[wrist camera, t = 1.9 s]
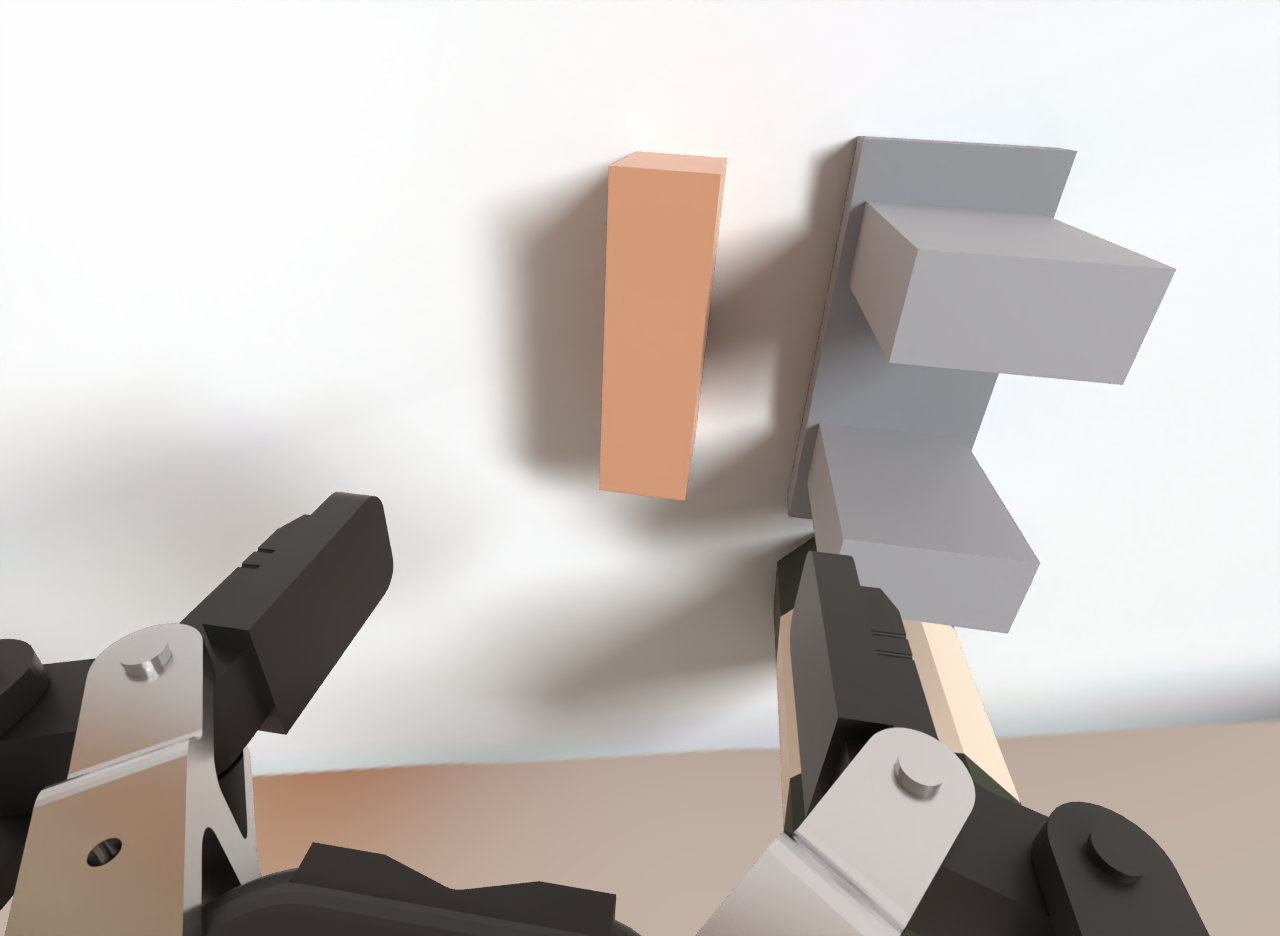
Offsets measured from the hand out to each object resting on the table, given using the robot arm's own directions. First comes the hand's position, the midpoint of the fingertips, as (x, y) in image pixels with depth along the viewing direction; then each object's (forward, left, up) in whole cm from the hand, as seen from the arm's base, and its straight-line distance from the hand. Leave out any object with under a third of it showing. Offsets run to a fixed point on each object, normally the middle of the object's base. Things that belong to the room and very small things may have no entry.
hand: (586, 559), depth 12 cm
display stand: (-10, +2, -18) cm, 21 cm away
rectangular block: (0, +1, -18) cm, 18 cm away
